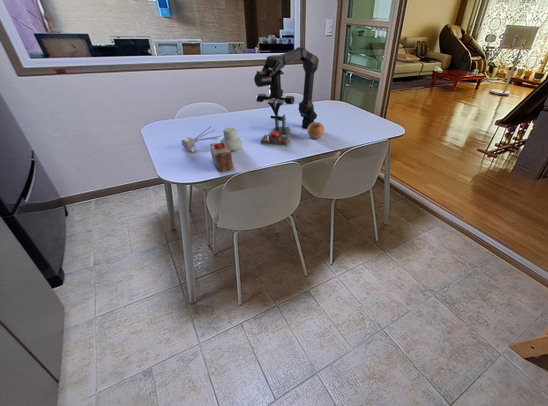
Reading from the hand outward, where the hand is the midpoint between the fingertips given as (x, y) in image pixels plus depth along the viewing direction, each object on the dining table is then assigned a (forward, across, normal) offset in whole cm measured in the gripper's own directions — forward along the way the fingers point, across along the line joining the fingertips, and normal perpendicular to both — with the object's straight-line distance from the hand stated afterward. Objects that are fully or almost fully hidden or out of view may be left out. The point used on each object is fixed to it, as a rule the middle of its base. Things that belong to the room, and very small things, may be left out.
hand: (276, 115), depth 151 cm
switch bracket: (+12, 0, -9) cm, 15 cm away
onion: (+12, -21, -3) cm, 24 cm away
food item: (+12, +16, +38) cm, 43 cm away
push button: (+8, -1, +8) cm, 11 cm away
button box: (+12, 0, +8) cm, 14 cm away
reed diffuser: (+12, +34, +18) cm, 40 cm away
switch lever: (+4, 0, -5) cm, 6 cm away
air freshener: (+12, +18, +21) cm, 30 cm away
